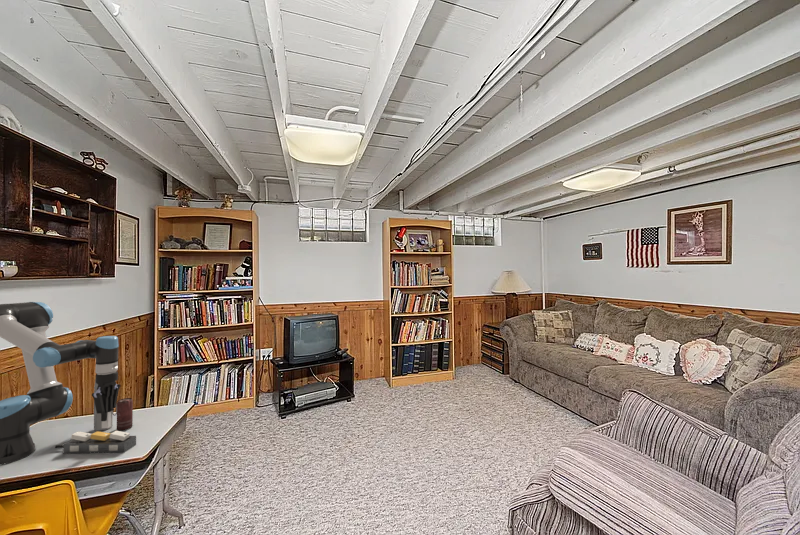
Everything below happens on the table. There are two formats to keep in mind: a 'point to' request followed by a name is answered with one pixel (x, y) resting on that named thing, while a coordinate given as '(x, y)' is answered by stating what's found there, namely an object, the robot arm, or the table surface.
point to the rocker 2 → (119, 435)
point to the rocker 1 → (81, 436)
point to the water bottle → (98, 416)
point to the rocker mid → (100, 436)
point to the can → (124, 414)
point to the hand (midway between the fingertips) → (106, 427)
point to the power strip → (98, 446)
